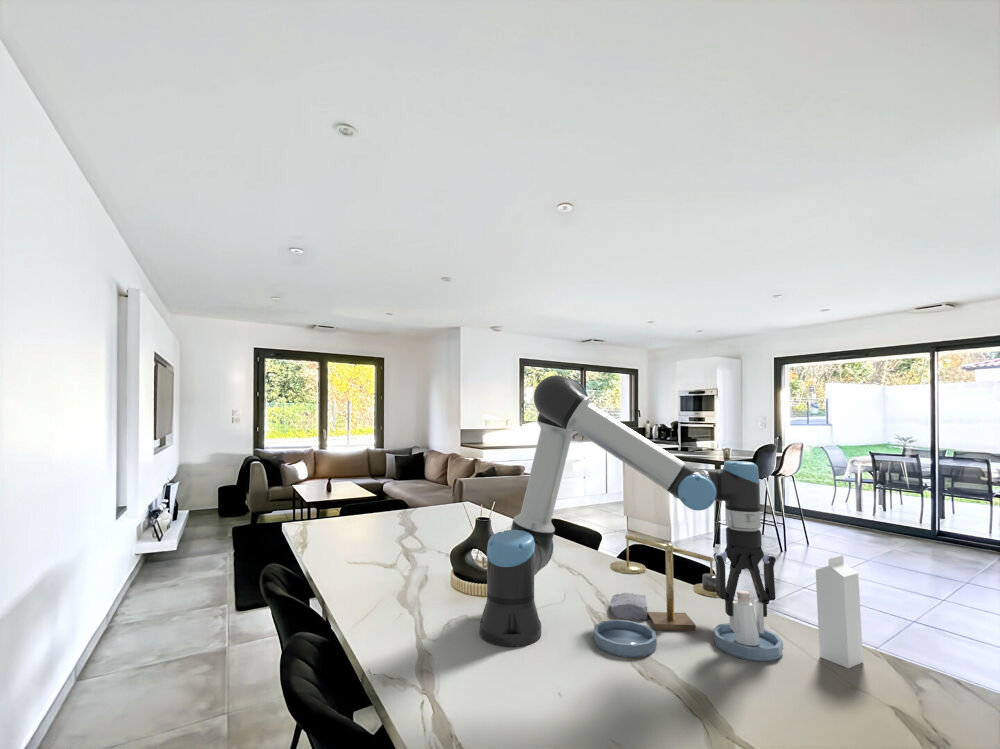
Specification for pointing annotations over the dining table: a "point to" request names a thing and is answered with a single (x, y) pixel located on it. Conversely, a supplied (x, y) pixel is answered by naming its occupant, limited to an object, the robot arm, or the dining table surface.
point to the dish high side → (625, 638)
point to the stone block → (629, 606)
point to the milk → (839, 613)
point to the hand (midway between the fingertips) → (746, 630)
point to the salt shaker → (746, 621)
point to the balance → (669, 586)
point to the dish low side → (763, 652)
